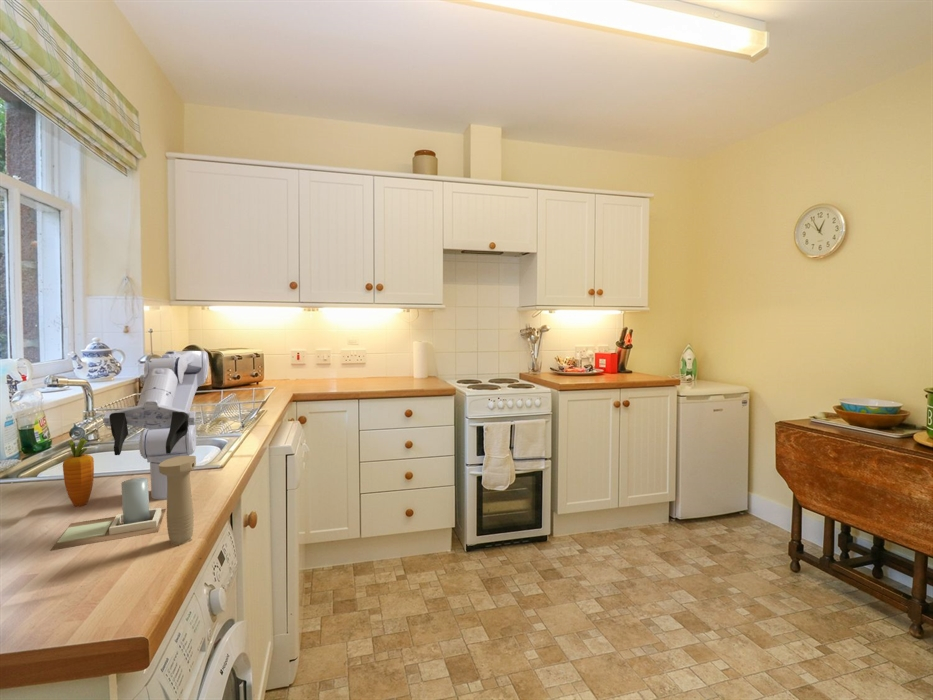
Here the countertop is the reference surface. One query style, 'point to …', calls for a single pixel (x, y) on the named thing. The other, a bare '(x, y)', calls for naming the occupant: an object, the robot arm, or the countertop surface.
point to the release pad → (85, 531)
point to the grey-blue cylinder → (135, 500)
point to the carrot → (78, 474)
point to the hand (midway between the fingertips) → (142, 450)
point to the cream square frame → (118, 528)
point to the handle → (179, 498)
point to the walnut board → (106, 536)
